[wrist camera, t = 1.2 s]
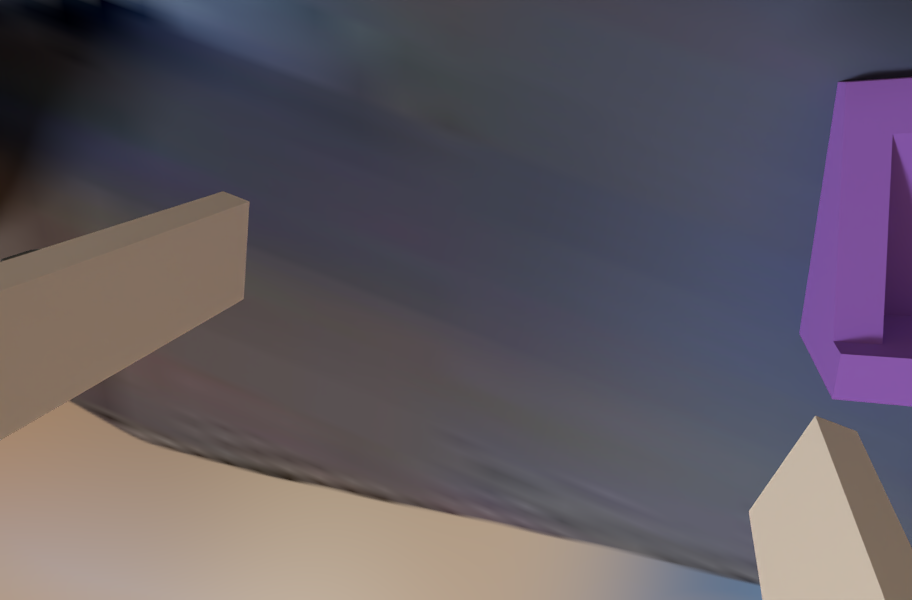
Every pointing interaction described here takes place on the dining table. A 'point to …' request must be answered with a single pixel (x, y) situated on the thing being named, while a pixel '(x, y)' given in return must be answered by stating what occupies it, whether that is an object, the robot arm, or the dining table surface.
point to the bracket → (864, 248)
